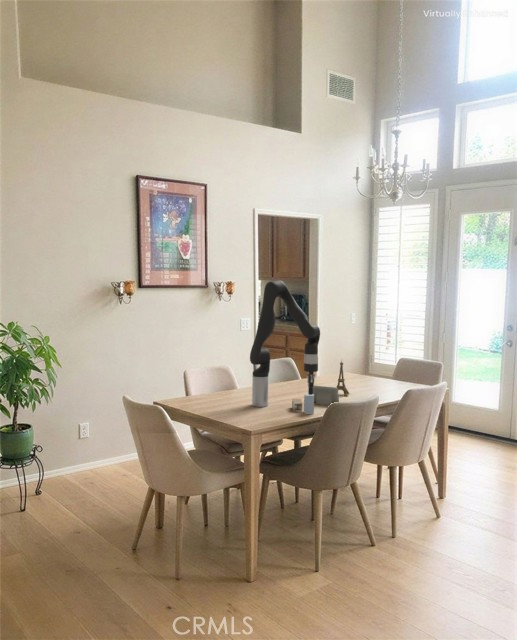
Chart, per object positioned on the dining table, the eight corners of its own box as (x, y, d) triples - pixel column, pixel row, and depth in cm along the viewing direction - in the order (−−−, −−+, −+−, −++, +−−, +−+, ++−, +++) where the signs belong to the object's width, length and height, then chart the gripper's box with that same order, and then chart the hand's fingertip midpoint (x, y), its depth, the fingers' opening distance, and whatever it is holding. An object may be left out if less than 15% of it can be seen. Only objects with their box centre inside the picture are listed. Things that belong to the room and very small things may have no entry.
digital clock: (340, 404, 329) (340, 386, 328) (333, 407, 321) (333, 388, 321) (316, 400, 338) (316, 383, 337) (309, 403, 330) (309, 385, 330)
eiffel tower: (349, 393, 361) (351, 355, 359) (348, 396, 351) (349, 357, 349) (333, 392, 364) (334, 354, 362) (331, 395, 354) (332, 356, 352)
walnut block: (293, 411, 308) (292, 407, 318) (302, 411, 308) (300, 407, 318) (293, 402, 308) (292, 398, 318) (302, 402, 308) (301, 399, 318)
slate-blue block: (303, 411, 308) (304, 393, 308) (312, 411, 308) (313, 393, 308) (304, 413, 303) (305, 395, 303) (313, 413, 303) (314, 395, 303)
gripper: (303, 360, 302) (302, 392, 303) (304, 363, 289) (304, 396, 290) (316, 360, 302) (316, 392, 303) (319, 364, 289) (318, 397, 290)
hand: (310, 394), depth 296 cm, fingers closed
